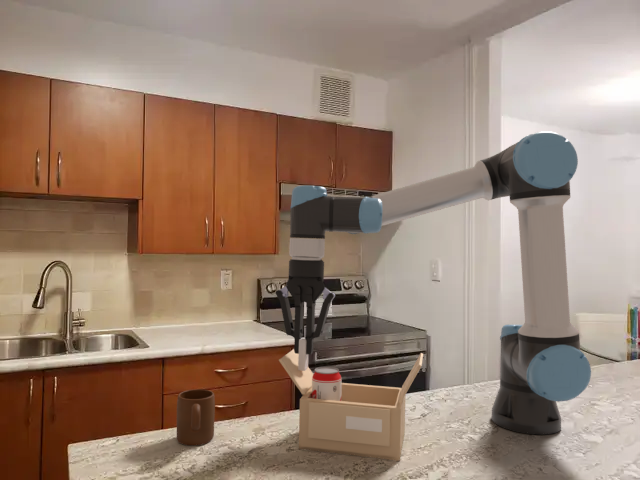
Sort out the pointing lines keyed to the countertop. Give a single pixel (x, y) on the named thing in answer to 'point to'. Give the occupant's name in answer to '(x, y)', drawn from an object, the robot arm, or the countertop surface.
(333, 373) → the beer can
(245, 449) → the countertop surface
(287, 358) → the flap far
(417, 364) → the flap near
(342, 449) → the carton
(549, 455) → the countertop surface
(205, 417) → the mug
